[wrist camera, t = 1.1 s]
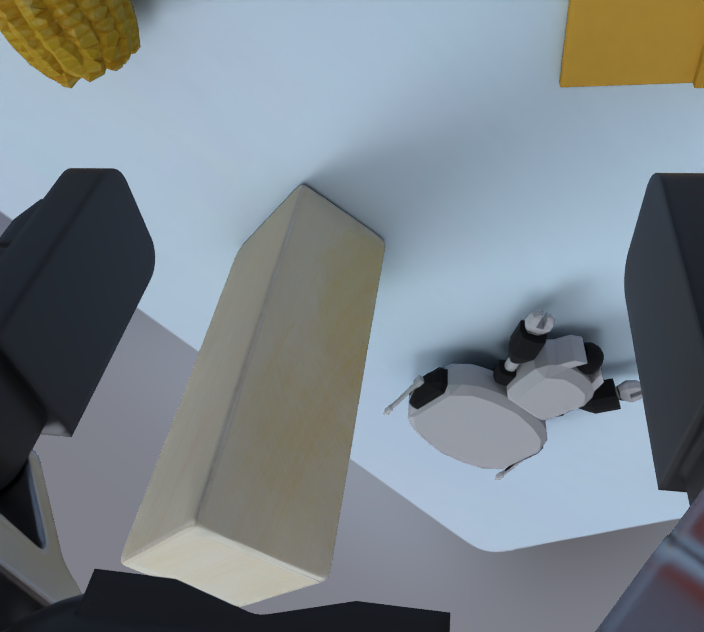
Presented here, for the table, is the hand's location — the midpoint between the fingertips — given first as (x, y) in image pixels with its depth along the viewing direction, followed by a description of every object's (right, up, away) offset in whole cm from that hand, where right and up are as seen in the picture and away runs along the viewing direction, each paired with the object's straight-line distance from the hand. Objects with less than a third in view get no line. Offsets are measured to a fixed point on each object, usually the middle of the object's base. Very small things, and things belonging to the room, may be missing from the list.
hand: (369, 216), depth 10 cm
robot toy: (+12, -6, +38) cm, 40 cm away
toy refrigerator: (-3, +3, +32) cm, 32 cm away
